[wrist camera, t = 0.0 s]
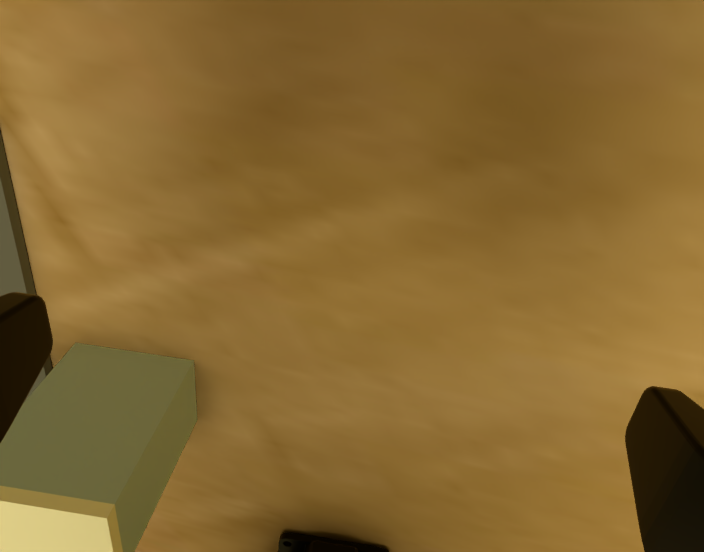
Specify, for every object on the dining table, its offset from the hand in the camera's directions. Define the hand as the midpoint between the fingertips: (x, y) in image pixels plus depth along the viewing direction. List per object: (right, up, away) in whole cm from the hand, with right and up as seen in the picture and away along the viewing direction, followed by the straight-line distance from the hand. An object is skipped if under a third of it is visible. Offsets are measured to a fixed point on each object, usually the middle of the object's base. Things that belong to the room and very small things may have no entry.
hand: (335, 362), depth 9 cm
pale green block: (-11, -4, +21) cm, 24 cm away
